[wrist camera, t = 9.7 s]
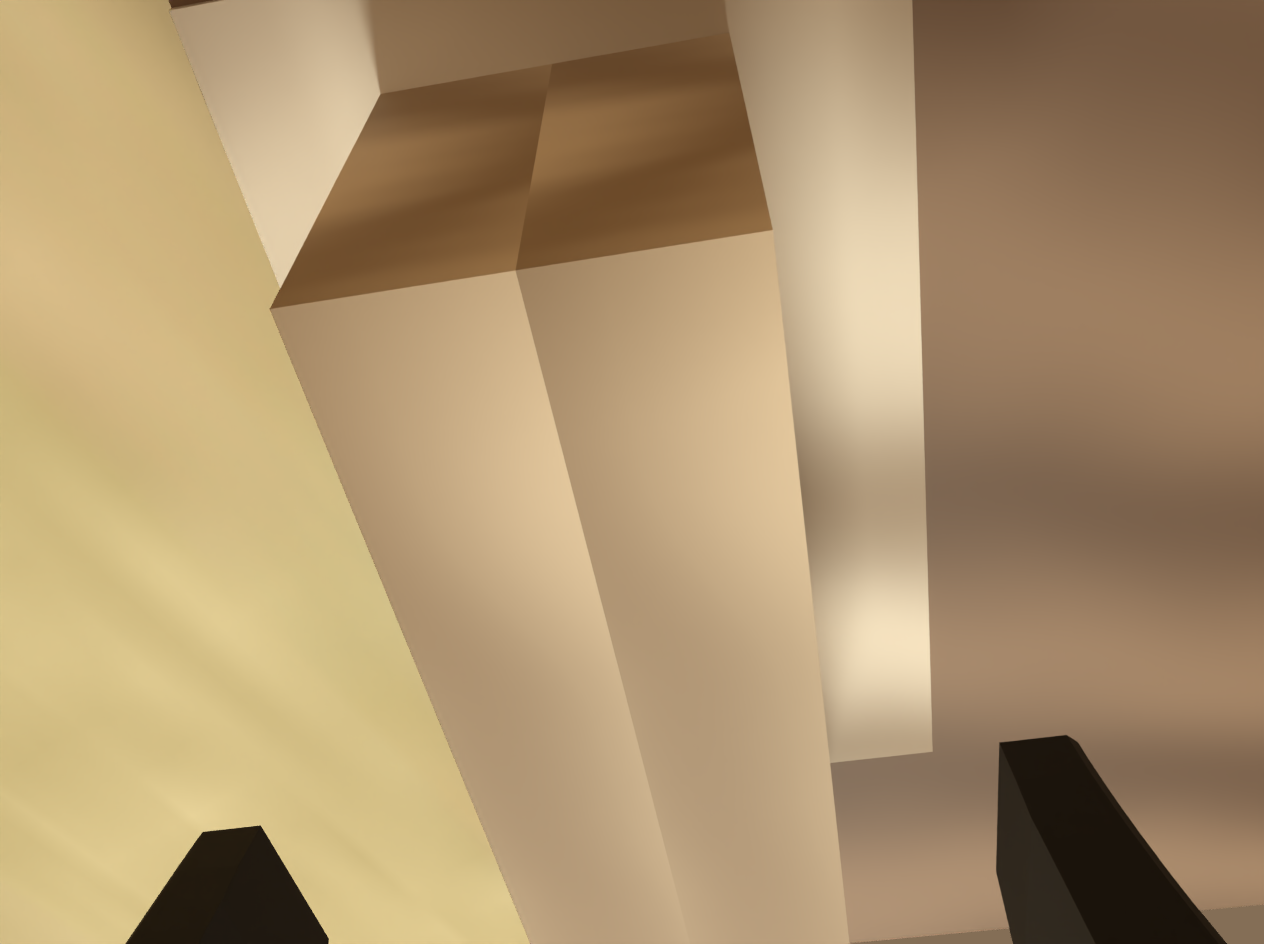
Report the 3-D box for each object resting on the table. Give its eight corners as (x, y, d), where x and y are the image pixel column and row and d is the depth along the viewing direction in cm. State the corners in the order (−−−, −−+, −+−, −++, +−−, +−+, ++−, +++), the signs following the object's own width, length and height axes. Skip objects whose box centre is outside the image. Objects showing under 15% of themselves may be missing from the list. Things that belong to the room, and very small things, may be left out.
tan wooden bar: (729, 32, 13) (772, 230, 9) (820, 795, 21) (863, 1078, 17) (381, 93, 13) (269, 309, 9) (602, 818, 21) (594, 1100, 17)
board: (1320, 853, 24) (1347, 901, 23) (558, 927, 25) (556, 974, 24) (1758, -557, 11) (1859, -572, 10) (124, -211, 12) (85, -197, 11)
